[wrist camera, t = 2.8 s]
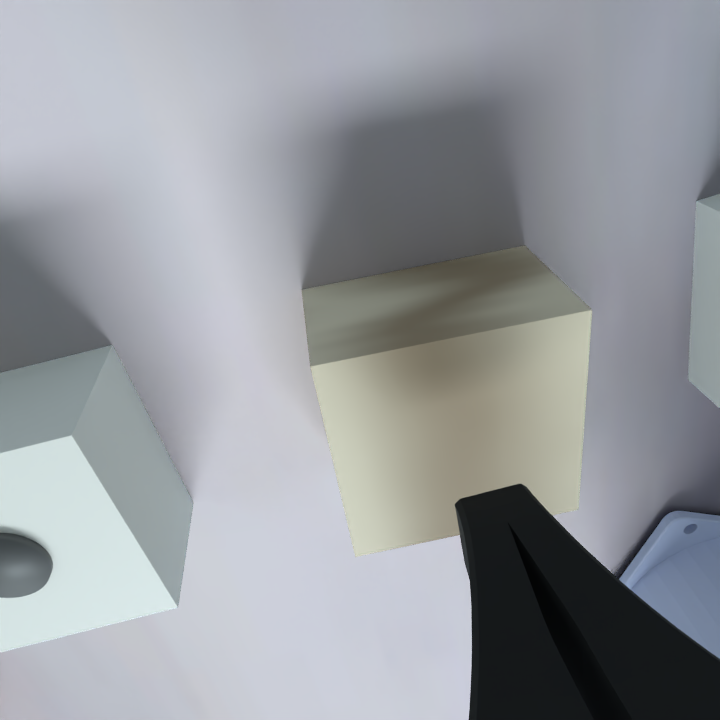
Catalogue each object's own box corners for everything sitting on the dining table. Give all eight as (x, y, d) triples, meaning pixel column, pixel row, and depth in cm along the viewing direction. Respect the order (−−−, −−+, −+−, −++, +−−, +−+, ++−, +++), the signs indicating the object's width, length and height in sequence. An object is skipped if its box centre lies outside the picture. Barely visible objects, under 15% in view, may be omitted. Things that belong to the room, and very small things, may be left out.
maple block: (522, 243, 16) (592, 309, 12) (522, 418, 19) (578, 509, 15) (301, 286, 15) (310, 366, 12) (339, 456, 19) (355, 556, 15)
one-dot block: (114, 341, 16) (69, 441, 12) (194, 498, 19) (176, 614, 15) (-106, 395, 16) (-217, 513, 12) (11, 544, 19) (-49, 671, 15)
